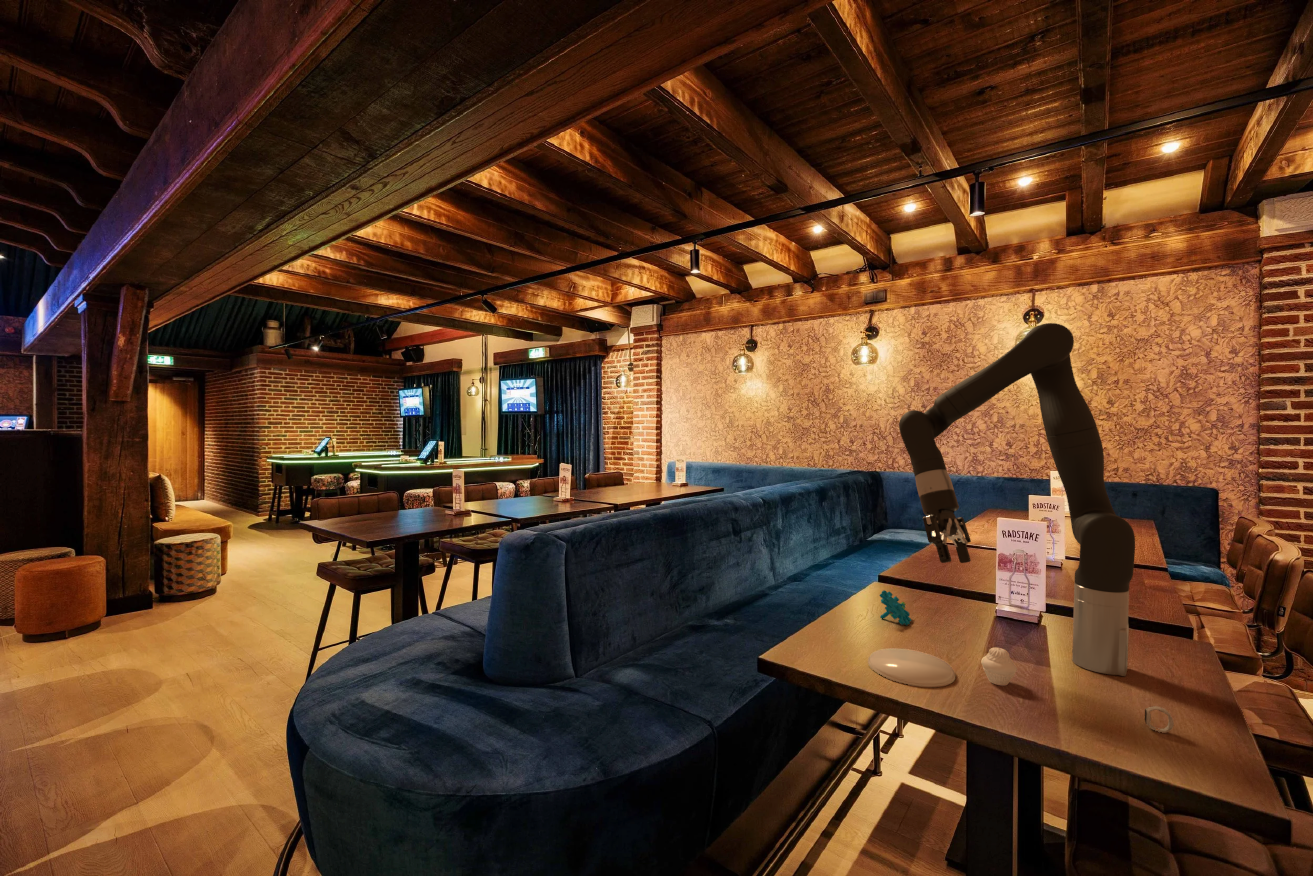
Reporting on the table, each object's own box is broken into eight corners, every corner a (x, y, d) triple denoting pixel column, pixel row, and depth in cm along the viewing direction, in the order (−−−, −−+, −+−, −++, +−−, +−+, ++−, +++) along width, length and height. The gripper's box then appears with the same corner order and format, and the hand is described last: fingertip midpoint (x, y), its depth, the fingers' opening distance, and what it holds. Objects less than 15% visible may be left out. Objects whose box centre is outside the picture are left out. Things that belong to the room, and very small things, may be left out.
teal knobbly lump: (902, 624, 142) (877, 589, 147) (885, 636, 144) (861, 602, 150) (920, 620, 149) (896, 587, 155) (903, 632, 152) (879, 599, 158)
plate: (965, 668, 120) (965, 662, 120) (940, 695, 108) (941, 689, 108) (885, 646, 131) (885, 641, 131) (854, 669, 119) (854, 663, 119)
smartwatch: (1172, 732, 96) (1172, 708, 96) (1174, 737, 94) (1174, 713, 94) (1144, 725, 98) (1144, 702, 98) (1145, 730, 96) (1146, 707, 96)
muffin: (1008, 692, 109) (1009, 656, 109) (975, 680, 114) (975, 646, 114) (1021, 683, 113) (1022, 649, 113) (989, 672, 118) (990, 639, 118)
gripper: (935, 485, 125) (956, 559, 120) (967, 490, 133) (988, 559, 128) (904, 494, 131) (923, 565, 125) (937, 498, 139) (956, 565, 133)
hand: (956, 562), depth 127 cm, fingers open, 8 cm apart
